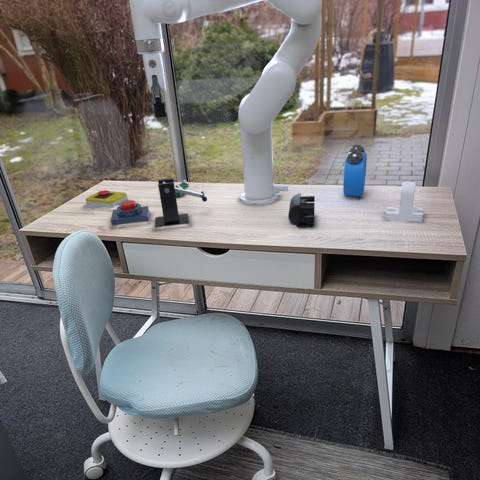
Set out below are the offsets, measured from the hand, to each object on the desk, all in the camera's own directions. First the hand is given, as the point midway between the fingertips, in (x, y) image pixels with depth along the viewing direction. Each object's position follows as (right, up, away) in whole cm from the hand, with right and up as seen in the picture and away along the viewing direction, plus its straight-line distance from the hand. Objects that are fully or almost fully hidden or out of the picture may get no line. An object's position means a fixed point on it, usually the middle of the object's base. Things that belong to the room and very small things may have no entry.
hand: (160, 116), depth 143 cm
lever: (+7, -25, -4) cm, 26 cm away
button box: (-10, -31, +4) cm, 32 cm away
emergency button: (-21, -22, +19) cm, 36 cm away
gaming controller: (+3, -18, +23) cm, 29 cm away
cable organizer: (+70, -32, -9) cm, 78 cm away
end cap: (+42, -33, -6) cm, 54 cm away
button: (-10, -27, +2) cm, 29 cm away
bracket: (+4, -32, 0) cm, 33 cm away
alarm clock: (+60, -21, +9) cm, 65 cm away
